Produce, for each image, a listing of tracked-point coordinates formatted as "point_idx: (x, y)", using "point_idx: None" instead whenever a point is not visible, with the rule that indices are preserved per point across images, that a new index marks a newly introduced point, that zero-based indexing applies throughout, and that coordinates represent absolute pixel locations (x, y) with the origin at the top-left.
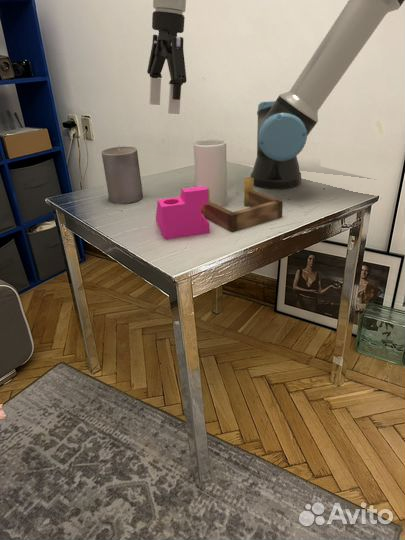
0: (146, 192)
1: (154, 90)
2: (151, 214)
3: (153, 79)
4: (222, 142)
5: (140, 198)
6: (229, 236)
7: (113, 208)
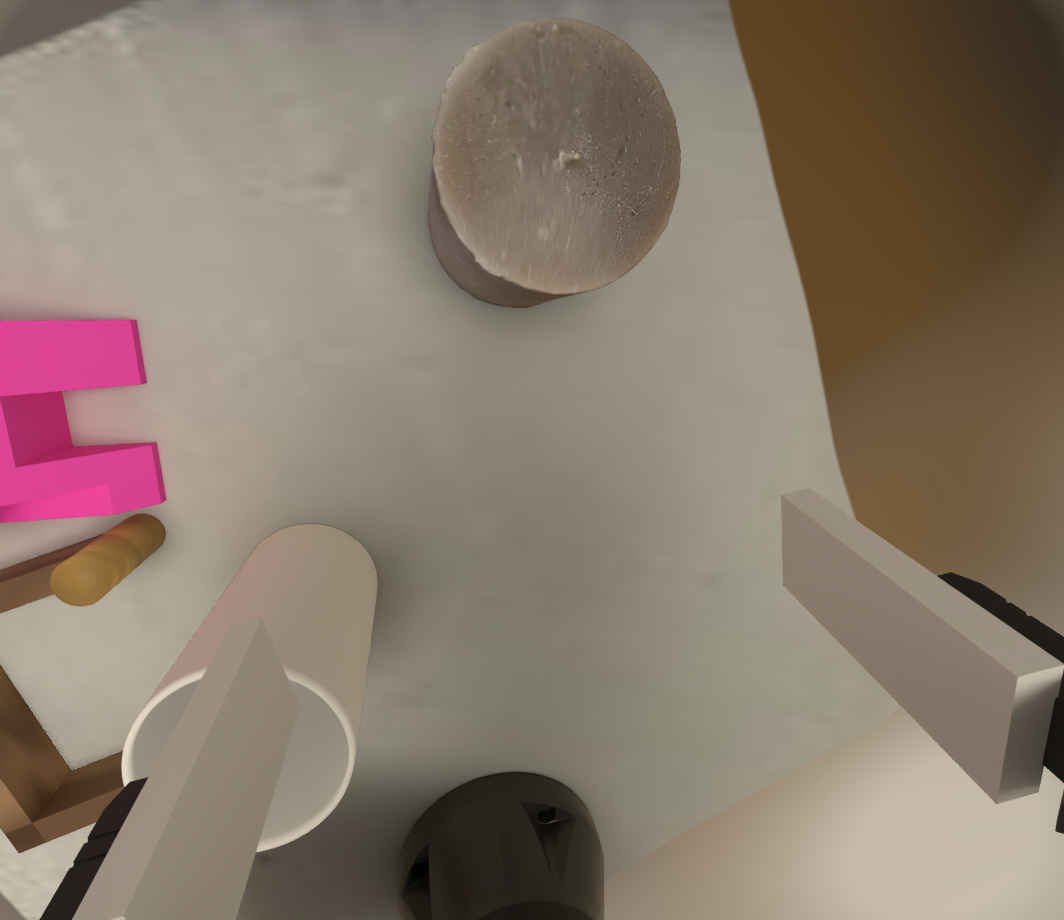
0: (569, 332)
1: (877, 611)
2: (236, 312)
3: (992, 691)
4: (285, 828)
5: (464, 289)
6: None
7: (380, 142)
